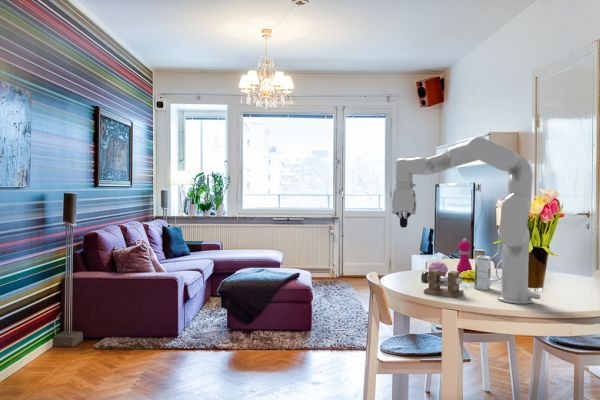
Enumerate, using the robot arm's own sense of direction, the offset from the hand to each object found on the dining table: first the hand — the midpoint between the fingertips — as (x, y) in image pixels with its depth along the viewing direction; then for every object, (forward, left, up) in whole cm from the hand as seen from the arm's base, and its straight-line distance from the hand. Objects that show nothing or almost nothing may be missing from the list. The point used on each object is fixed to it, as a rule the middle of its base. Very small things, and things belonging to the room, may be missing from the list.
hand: (403, 227), depth 212 cm
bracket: (-18, +2, -27) cm, 33 cm away
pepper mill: (-16, -42, -27) cm, 53 cm away
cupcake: (-9, -22, -27) cm, 36 cm away
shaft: (-18, +2, -24) cm, 30 cm away
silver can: (-30, -19, -27) cm, 45 cm away
